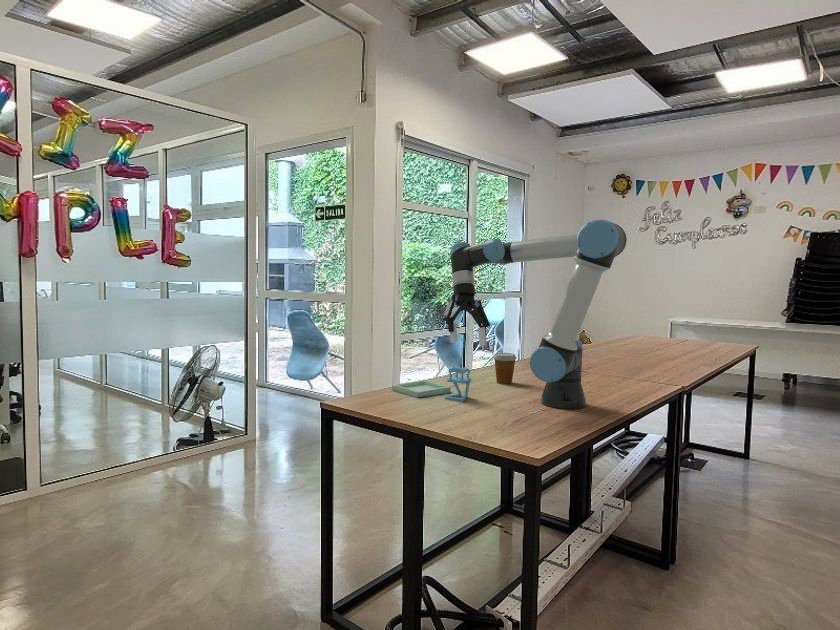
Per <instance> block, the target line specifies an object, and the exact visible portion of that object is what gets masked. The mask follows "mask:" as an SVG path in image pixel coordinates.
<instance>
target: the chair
mask: <svg viewBox="0 0 840 630" xmlns="http://www.w3.org/2000/svg"><path fill="white" fill-rule="evenodd" d="M447 371H448V373H449V377H448V378H447V379H446V382H447V383H453V385H454V387H455V388H456V391H457V393H454V394H450V395H444V400H448V401H454V402H455V401H456V402H465V401H466V400H467V398H468V396H469V395H468V394H469V388H470V383H471V381H472V378H470V373H471V369H470V368H468V367H459V366H456V365H454V366H450V367H449V368H448V369H447ZM452 373H455V376H454V377H453V374H452ZM465 373H467V374H466V377H464V374H465ZM459 374H461V375H460V376H461V377H460V376H459ZM458 384H462V385H463V384H464V385H465V391H464V395H463V393H462V391H461V389H460V388H459V385H458ZM462 395H463V397H462ZM461 397H462V398H461Z"/></svg>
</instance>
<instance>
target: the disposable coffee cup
mask: <svg viewBox="0 0 840 630" xmlns="http://www.w3.org/2000/svg"><path fill="white" fill-rule="evenodd" d="M492 358H493V360H494V367H495V369H494V370H495V371H494V372H495V377H496V380H495V381H496V384H500V385H510V384H513V377H514V370H515V365H516V364H515V363H516V360H517V356H516V354H515V353H510V352H496V353H494V355H493V356H492Z"/></svg>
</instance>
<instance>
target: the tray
mask: <svg viewBox="0 0 840 630" xmlns="http://www.w3.org/2000/svg"><path fill="white" fill-rule="evenodd" d="M451 388H452V387H451V386H450V385H449V386H448V385H444V384H441V383H436V382H434V381H428V380H425V379H423V380H417V381H409V382H402V383H396V384H391V391H393V392H397V393H399V394H403V393H404V395H406V394H407V396H409V397H410V396H411V397H414V398H416V399H419V398H426V397H430V396H431V397H432V396H437V395H443V394H449V393H451V390H452V389H451Z"/></svg>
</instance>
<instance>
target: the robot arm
mask: <svg viewBox="0 0 840 630" xmlns="http://www.w3.org/2000/svg"><path fill="white" fill-rule="evenodd" d="M627 241H628V239H627V234H626V231H625V230H624V229H623V227H621V226H620V225H618V224H617V223H614V222H611V221H609V220H605V219H594V220H593V219H592V220H591V221H590V220H589V221H588V222H586V223H585V224H584V225H582V227H581V228H580V229H579V231H578V233H575V234H566V235H557V236H550V237H543V238H542V237H541V238H533V239H526V240H520V241H519V240H517V241H510V242H502V241H501V239H500V238H497V237H496V238H492V239H488V240H487V239H486V240H485V241H482V242H479V243H477V244H473V245H471V244H470V243H469V242H465V241H461V242H460V241H459V242H456V243H453V244H452V245H451V247H450V248H449V249H450V252H449V253H450V256H449V257H450V265H451V275H452V276H451V277H452V285H453V288H452V289H453V294H451V295H449V296H448V297H447V304H446V307H445V310H444V313H443V316H442V320H443V321H444V322H445V324H446V325H447V327H448V328H447V329H448V332H449V340H450V344H453V343H456V342H458V329H457V322H456V321H455V320H456V319H457V317H458V316H459V314H460V312H466V313H468V314H469V315H471V317H472V318H473V320H474V321H475V324H477V325H478V329H477V332H478V342H479V348H481V347H482V348H483V347H485V346H487V345H488V344H487V343H488V342H487V328H488V327H490V326H491V323H490V321H489V318H488V316H487V313H486V312H485V310H484V307H483V302H482V300H480V299H479V300H475V295H476V288H475V287H476V286H475V277H474V268H477V267H480V266H483V265H486V264H493V265H494V264H497V265H498V264H499V265H508V264H512V263H513V264H514V263H523V262H531V261H533V262H535V261H542V260H543V261H545V260H554V259H563V258H564V259H565V258H573V259H574V261H575V266H574V268H573V271H572V274H571V276H570V279H569V281H568V284H567V286H566V289H565V292H564V293H563V297H562V300H561V302H560V304H559V306H558V309H557V312H556V315H555V318H554V320H553V322H552V325H551V328H550V330H549V332H548V333H545V334H543V336H542V337H541V340H540V342H539V346H538V348H536V349H535V350H534V351H533V352H532V354H531V355H530V359H529V366H530V370H531V372H532V374H533V376H535V377H536V378H537V380H540V381H542V382H544V383H545V386H544V388H543V392H542V394H541V397H540V398H541V401H540V403H541V404H542V405H544V406H547V407H552V408H556V409H563V410H564V409H565V410H569V409H570V410H571V409H573V410H575V409H582V408H584V406H585V405H586V404H587V403H586V402H587V400H586V397H585V392H584V388H583V385H582V372H583V371H582V367H583V350H584V349H583V343H582V341H581V340H578V339H577V338H578V335H579V333H580V330H581V328H582V325H583V322H584V320H585V318H586V316H587V313H588V311H589V307H590V306H591V303H592V300H593V298H594V296H595V293H596V291H597V288H598V285H599V283H600V280H601V278H602V275H603V273H605V272H607V271H609V270H610V269H611V267H612V264H613V262H614V259H615V258H616V257H618V256H619V255H620V254H622V253H623V251H624V250H625V249H626V246H627ZM455 304H456V305H455ZM454 306H455V307H454ZM586 406H587V405H586ZM586 406H585V407H586Z"/></svg>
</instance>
